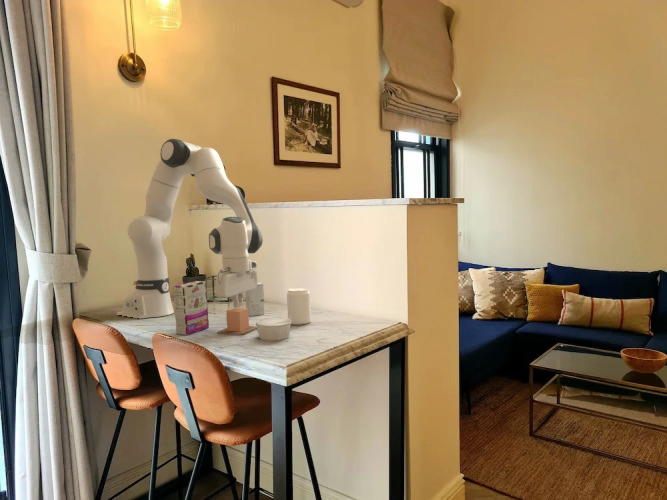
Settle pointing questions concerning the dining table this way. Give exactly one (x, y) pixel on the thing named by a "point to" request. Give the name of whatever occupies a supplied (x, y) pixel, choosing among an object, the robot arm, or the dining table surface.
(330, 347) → the dining table surface
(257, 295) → the skincare box
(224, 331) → the base plate with peg
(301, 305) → the beverage can
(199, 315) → the candy bar box
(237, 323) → the salmon orange rectangular block
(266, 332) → the ramekin
